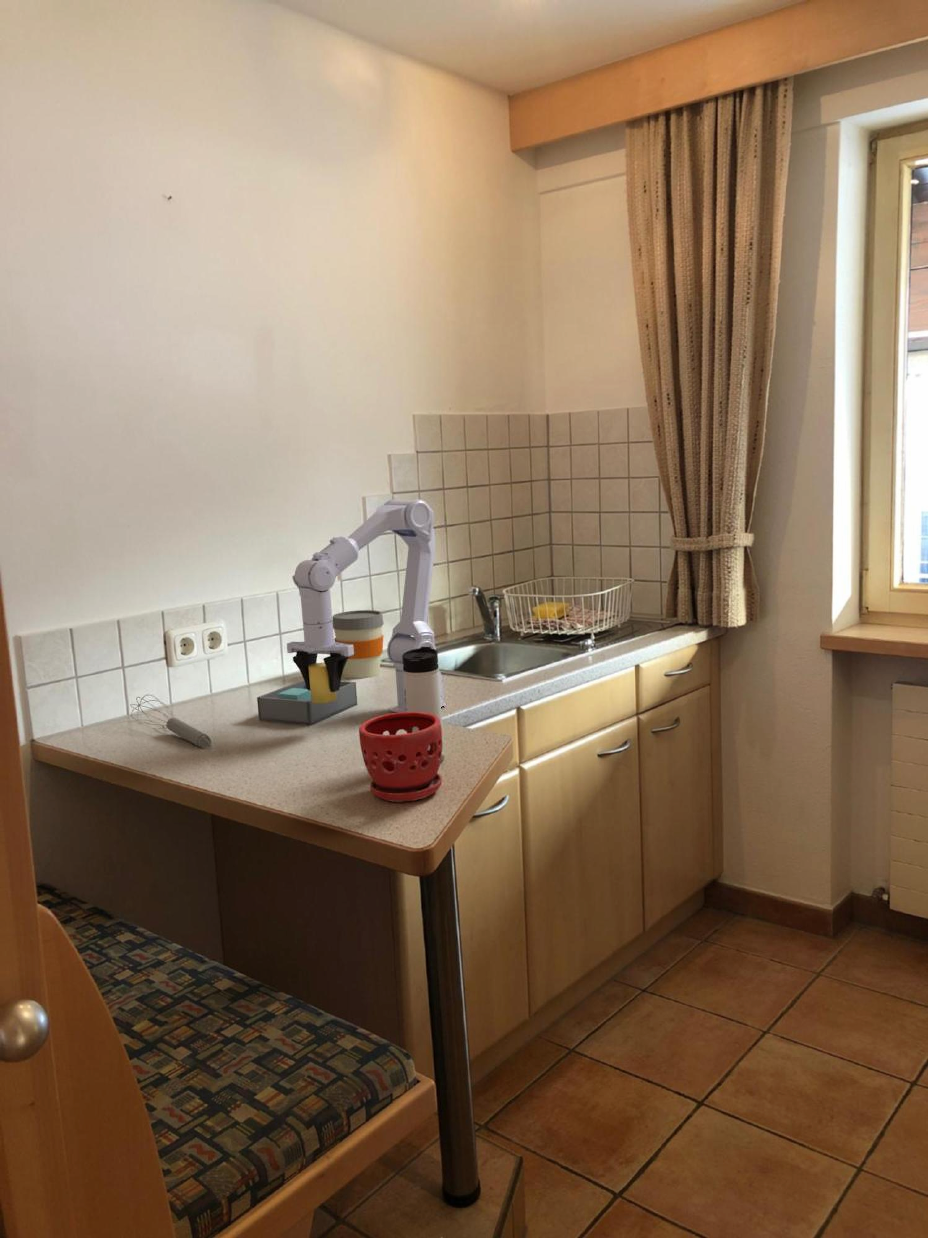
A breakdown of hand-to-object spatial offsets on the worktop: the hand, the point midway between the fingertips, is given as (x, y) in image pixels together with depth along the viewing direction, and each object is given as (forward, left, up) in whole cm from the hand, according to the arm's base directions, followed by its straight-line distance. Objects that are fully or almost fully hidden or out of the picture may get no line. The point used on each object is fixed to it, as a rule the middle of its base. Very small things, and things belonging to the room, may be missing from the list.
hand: (323, 690), depth 200 cm
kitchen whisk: (+31, +10, -9) cm, 34 cm away
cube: (+13, -8, -8) cm, 17 cm away
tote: (+13, -12, -9) cm, 20 cm away
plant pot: (-33, +25, -9) cm, 42 cm away
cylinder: (0, 0, -2) cm, 2 cm away
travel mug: (-28, +9, -9) cm, 31 cm away
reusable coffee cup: (+22, -46, -9) cm, 52 cm away
